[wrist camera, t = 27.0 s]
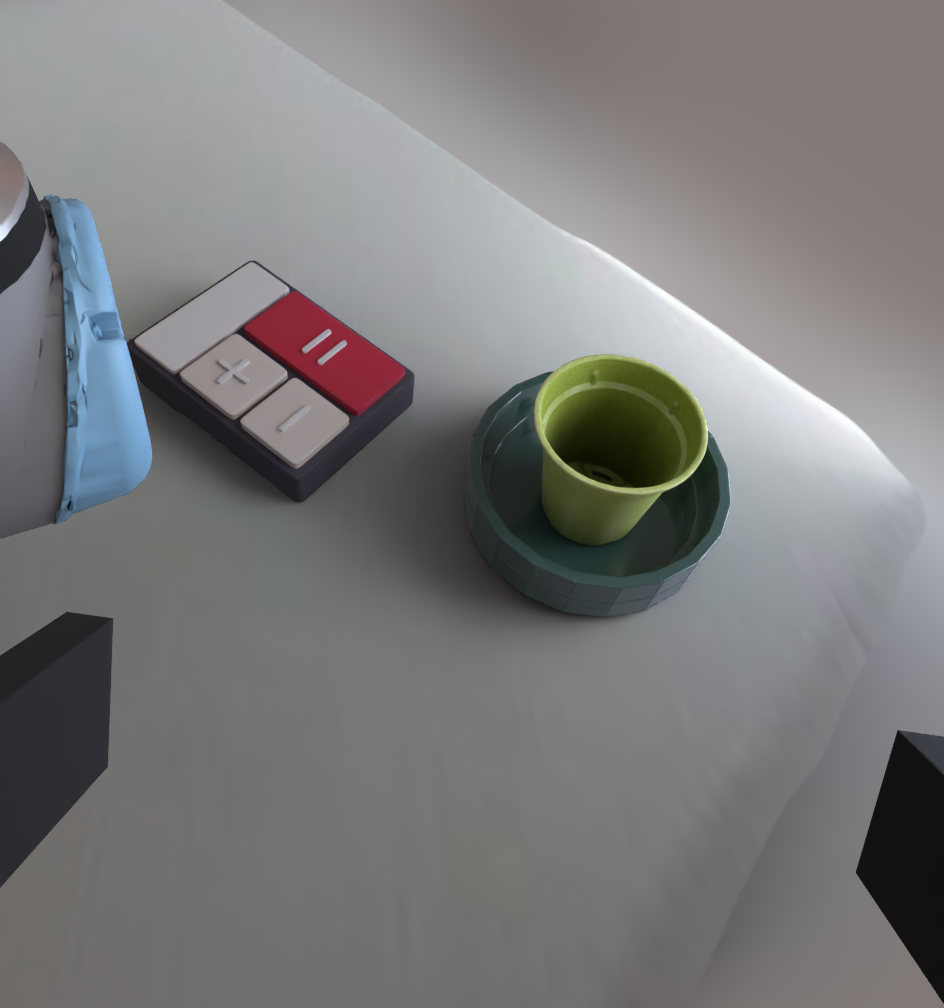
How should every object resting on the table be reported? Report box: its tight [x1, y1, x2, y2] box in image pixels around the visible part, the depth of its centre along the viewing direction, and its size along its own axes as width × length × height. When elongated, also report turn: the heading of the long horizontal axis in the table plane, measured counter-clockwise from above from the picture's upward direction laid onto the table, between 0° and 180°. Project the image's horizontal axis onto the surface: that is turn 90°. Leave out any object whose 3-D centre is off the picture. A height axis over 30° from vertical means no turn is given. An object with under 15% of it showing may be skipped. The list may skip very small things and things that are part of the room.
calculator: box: [127, 261, 414, 502], centre depth 50 cm, size 11×4×15 cm
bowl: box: [464, 371, 731, 617], centre depth 46 cm, size 15×15×4 cm
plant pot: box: [534, 354, 708, 546], centre depth 44 cm, size 9×9×9 cm
